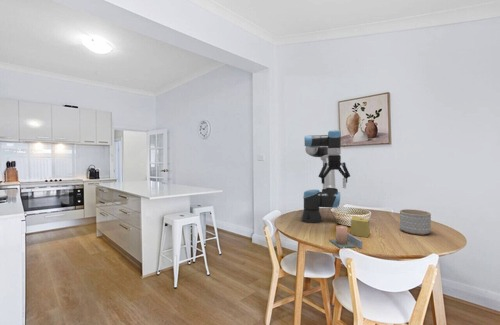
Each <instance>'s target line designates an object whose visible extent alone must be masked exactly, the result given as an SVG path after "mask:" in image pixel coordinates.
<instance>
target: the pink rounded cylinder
mask: <svg viewBox="0 0 500 325" xmlns="http://www.w3.org/2000/svg"><path fill="white" fill-rule="evenodd" d="M348 228H349V227H348V226H347V225H336V226H335V239H336V243H337V244H340V245H346V244H348V242H349V241H348V233H349V232H348V231H349V230H348Z"/></svg>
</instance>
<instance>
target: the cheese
mask: <svg viewBox="0 0 500 325" xmlns="http://www.w3.org/2000/svg"><path fill="white" fill-rule="evenodd" d="M370 231H371V228H370V220H369V218H365V217H362V216H357V215H352V218H351V219H350V234H351V235H352V236H354V237H361V238H368V237H369V235H370Z"/></svg>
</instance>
